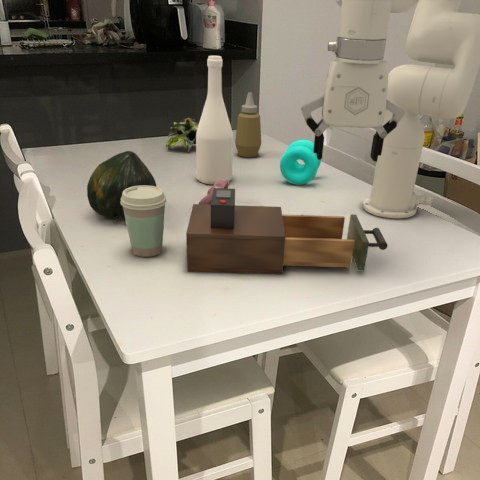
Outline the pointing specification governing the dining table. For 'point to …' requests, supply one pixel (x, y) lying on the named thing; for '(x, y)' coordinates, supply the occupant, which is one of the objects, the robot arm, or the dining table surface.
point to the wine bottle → (214, 131)
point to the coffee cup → (144, 218)
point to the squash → (116, 182)
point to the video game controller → (208, 198)
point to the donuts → (292, 168)
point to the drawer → (327, 241)
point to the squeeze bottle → (248, 129)
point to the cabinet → (236, 241)
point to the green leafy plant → (183, 133)
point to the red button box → (222, 208)
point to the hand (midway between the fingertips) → (346, 158)
